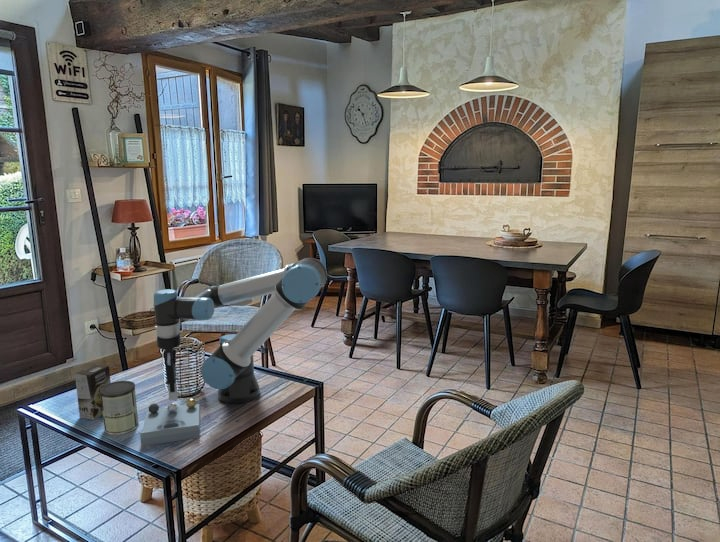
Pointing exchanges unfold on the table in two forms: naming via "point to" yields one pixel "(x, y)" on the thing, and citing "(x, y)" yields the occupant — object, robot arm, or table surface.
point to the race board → (171, 425)
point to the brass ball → (191, 403)
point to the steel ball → (172, 407)
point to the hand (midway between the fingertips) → (173, 399)
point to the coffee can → (119, 407)
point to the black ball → (153, 408)
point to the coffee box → (91, 390)
